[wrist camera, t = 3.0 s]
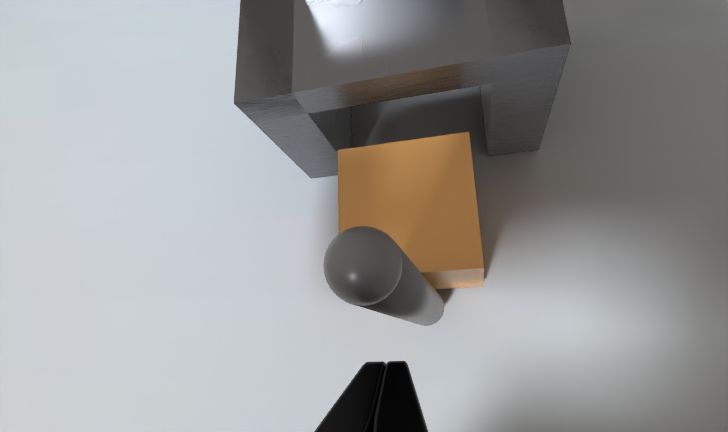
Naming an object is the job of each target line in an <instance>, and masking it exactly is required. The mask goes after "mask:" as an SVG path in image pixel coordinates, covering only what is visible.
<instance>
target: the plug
mask: <svg viewBox="0 0 728 432" xmlns="http://www.w3.org/2000/svg"><path fill="white" fill-rule="evenodd" d="M338 202H339V235H338V236H336V237H335V238H334V239H333V241H332V242H331V243H330V245H329V247H328V249H327V251H326V254H325V258H324V273H325V277H326V280H327V283H328V285H329V287H330V288H331V290H332V291H333V292H334V293H335V294H336V295H337V296H338V297H340V298H341V299H342V300H344V301H346V302H348V303H350V304H353V305H357V306H360V307H363V308H367V309H370V310H373V311H377V312H380V313H383V314H386V315H390V316H393V317H396V318H400V319H403V320H406V321H410V322H413V323H416V324H420V325H424V326H428V325H432V324H434V323H436V322H437V321H438V320H439V319H440V318H441V317H442V315H443V312H444V303H443V300H442V298H441V296H440V295H439V294H438V292H437V291H436V290H435V289H448V288H465V287H481V286H483V280H484V261H483V252H482V243H481V234H480V225H479V216H478V207H477V198H476V189H475V180H474V171H473V162H472V153H471V144H470V135H469V132H462V133H455V134H448V135H441V136H434V137H427V138H420V139H413V140H406V141H399V142H391V143H384V144H377V145H370V146H363V147H356V148H349V149H342V150H338Z"/></svg>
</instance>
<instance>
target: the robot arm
mask: <svg viewBox="0 0 728 432" xmlns="http://www.w3.org/2000/svg"><path fill="white" fill-rule="evenodd" d="M315 432H428V430H427V426H426V423H425V420H424V416H423V413H422V410H421V407H420V403H419V400H418V397H417V394H416V390H415V387H414V384H413V381H412V377H411V374H410V371H409V367H408V365H407V363H406V362H405V361H390V362H387V364H386V363H384V362H367V363H365V364H364V365H363V366H362V367H361V369H360V370H359V371H358V373H357V374H356V375H355V377H354V378H353V380H352V381H351V382H350V384H349V385H348V386H347V388H346V389H345V391H344V392H343V393H342V395H341V396H340V397H339V399H338V400H337V402H336V403H335V404H334V406H333V407H332V408H331V410H330V411H329V412H328V414H327V415H326V417H325V418H324V419H323V421H322V422H321V423H320V425H319V426H318V428H317V429H316V430H315Z"/></svg>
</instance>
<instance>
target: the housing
mask: <svg viewBox="0 0 728 432" xmlns="http://www.w3.org/2000/svg"><path fill="white" fill-rule="evenodd" d="M570 44H571V42H570V37H569V32H568V27H567V22H566V17H565V12H564V7H563V2H562V0H241V3H240V18H239V34H238V49H237V64H236V80H235V95H234V104H235V105H236V106H237V107H238V108H239V109H240V110H241V111H242V112H243V113H244V114H246V115H247V116H248V117H249V118H250V119H251V120H252V121H253V122H254V123H255V124H256V125H257V126H258V127H259V128H260V129H261V130H262V131H263V132H264V133H265V134H266V135H267V136H268V137H269V138H270V139H271V140H272V141H273V142H274V143H275V144H276V145H277V146H278V147H279V148H280V149H281V150H282V151H283V152H285V153H286V154H287V155H288V156H289V157H290V158H291V159H292V160H293V161H294V162H295V163H296V164H297V165H298V166H299V167H300V168H301V169H302V170H303V171H304V172H305V173H306V174H307V175H308V176H309V177H310V178H318V177H326V176H333V175H338V150H342V149H349V148H352V141H351V106H357V105H363V104H370V103H376V102H382V101H388V100H394V99H400V98H406V97H412V96H418V95H424V94H431V93H437V92H443V91H449V90H455V89H461V88H467V87H473V86H479V85H480V92H481V100H482V108H483V116H484V125H485V133H486V141H487V149H488V156H491V155H499V154H507V153H515V152H523V151H531V150H538V149H539V146H540V143H541V139H542V136H543V133H544V129H545V126H546V123H547V120H548V116H549V113H550V110H551V107H552V103H553V100H554V97H555V93H556V90H557V87H558V84H559V80H560V77H561V74H562V70H563V67H564V64H565V61H566V57H567V54H568V51H569V48H570Z"/></svg>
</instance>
